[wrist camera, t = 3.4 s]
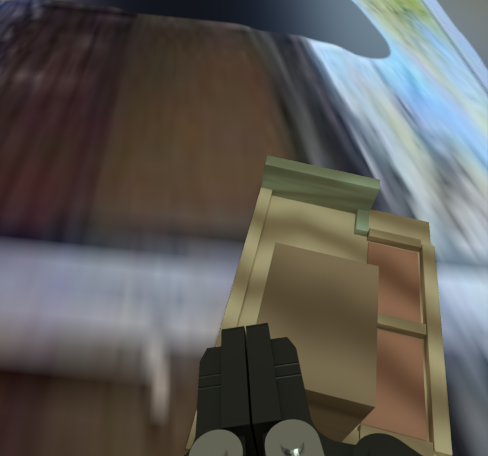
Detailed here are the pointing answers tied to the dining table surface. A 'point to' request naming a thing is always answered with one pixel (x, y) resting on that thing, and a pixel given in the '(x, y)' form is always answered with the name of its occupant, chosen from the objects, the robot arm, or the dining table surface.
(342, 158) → the dining table surface
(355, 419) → the walnut block
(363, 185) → the tray
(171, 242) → the dining table surface
